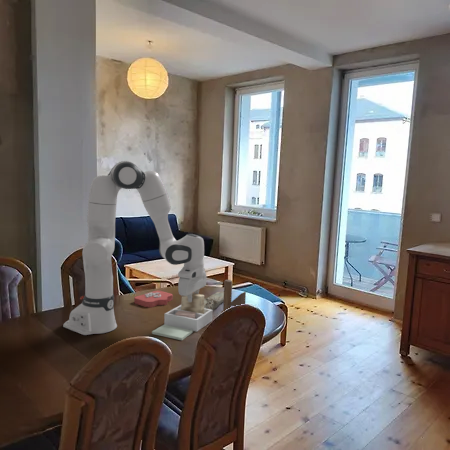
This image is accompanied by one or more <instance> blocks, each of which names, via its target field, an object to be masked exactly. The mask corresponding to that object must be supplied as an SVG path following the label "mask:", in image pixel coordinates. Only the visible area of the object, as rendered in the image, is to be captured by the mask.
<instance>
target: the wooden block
mask: <svg viewBox="0 0 450 450" xmlns="http://www.w3.org/2000/svg"><path fill="white" fill-rule="evenodd" d="M232 290H233V280H231V279H225V280H224V281H223V291H224V301H223V303H222V304H223V305H222V306H223V307H222V308H223V310H221V313H222V312H223V311H225V310H226V309H228V308H230V307H231V308H232V307H233V306H236V305H241V304H245V305H246V297H247V296H246V293H247V291H243V292H241V293H240V294H239V295H237V296H236V297H235V298H234V299H233V300H232V294H233V291H232Z"/></svg>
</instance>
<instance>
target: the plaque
mask: <svg viewBox="0 0 450 450" xmlns="http://www.w3.org/2000/svg"><path fill="white" fill-rule="evenodd" d="M173 297H174V295H173V293H170V292H166V291H162V290H154V291H150V292H147V293H143V294H140V295H137V296H134V300H133V301H134V302H133V303H134V304H135V305H138V306H141V307H145V308H155V307H157V306H167V305H168V302H171V301H173Z"/></svg>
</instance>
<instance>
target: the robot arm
mask: <svg viewBox="0 0 450 450" xmlns="http://www.w3.org/2000/svg"><path fill="white" fill-rule="evenodd" d="M122 189H123V190H137V192H138V193H139V195H140V198H141V201H142V204H143V206H144V208H145V211H146V212H147V214H148V216H149V217H150V218H151V220H152V223H153V224H154V227H155V230H156V233H157V236H158V240H159V241H158V242H159V243H158V244H159V245H158V251H159V252H158V253H159V255H160V256H161V258H163V259H164V260H165V261H166V262H167V263H169V265H170V264H171V265H174V266H176V265H181V264H183V266H182V267H181V269H180V270H179V271H178V274H177V275H178V276H177V277H178V278H179V279H178V283H177V284H178V286H177V287H178V288H177V289H178V295H180V296H181V297H182V296H187V297H188V302H192V301H193V298H192V293H196V294H200V293H199V292H200V289H203V288H204V287H205V286H207V272H206V269H205V263H204V256H205V241H204V238H203V237H202V236H200V235H198V234H193V233H187V234H186V235H185V236H183V237H182V238H180V239H178V240H177V239H176V238H175V236H174V235H173V232H172V229H171V226H170V222H169V217H168V216H169V213H170V211H171V208H172V207H171V202H170V198H169V194H168V191H167V189H166V186H165V184H164V182H163V179H162V177H161V176H160V174H159V173H158V172H157V171H154V170H146V171H143V170H142V169H141V168H140V167H139V166H138V165H136V164H135V163H134V162H131V161H129V160H122V161H119V162H118V163H116V164H114V166H113V167H112V168H111V170H110V171H109V173H107V175H97V176H96V177H94V178H93V179H92V181H91V184H90V188H89V193H88V202H87V215H86V217H87V218H86V222H87V241H86V243H84V245H83V248H82V252H81V253H82V255H81V256H82V262H83V263H82V264H83V271H84V272H83V273H84V278H85V279H84V280H85V283H84V284H85V286H84V287H85V289H84V290H85V291H84V292H85V294H84V295H82V296H80V298H79V300H82V302H81V303H80V304H78V305H77V306H76V307H74V309H72V310H71V311H70V313H69V319H68V320H67V321H65V322H64V323H63V326H62V327H63V328H65V329H68V330H70V331H72V332H76V333H78V334H81V335H83V336H87V335H88V336H89V335H93V334H98V335H99V334H105V333H106V334H107V333H109V332H112V331H115V330H116V329H117V327H118V324H117V321H116V315H115V310H114V305H115V294H114V275H113V266H112V265H113V262H112V255H113V254H114V251H115V247H116V246H115V243H116V215H117V214H116V213H117V202H118V195H119V191H120V190H122Z"/></svg>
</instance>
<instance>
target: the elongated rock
mask: <svg viewBox="0 0 450 450" xmlns="http://www.w3.org/2000/svg"><path fill="white" fill-rule="evenodd" d="M223 303H224V290H222V291H216V292H214V293H213V294H211V295H209V296H208V297H206V298H204V308H205V309H211V310H213V311H215V310H216V309H217V308H218V307H219V306H220V305H221V304H223Z"/></svg>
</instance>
